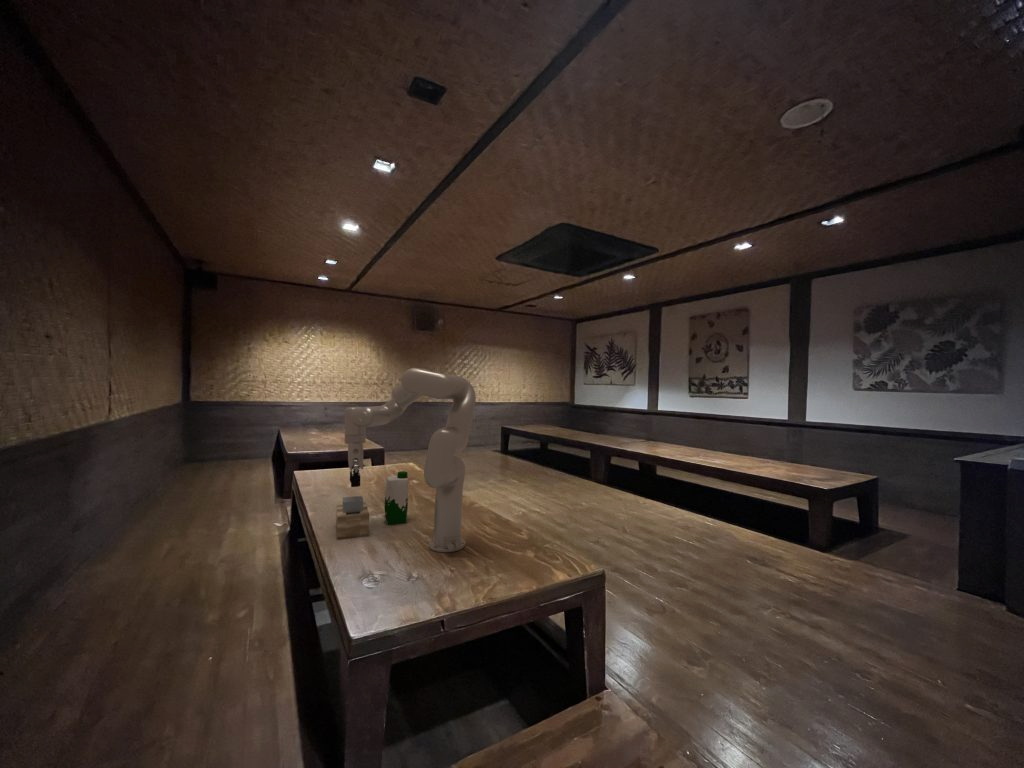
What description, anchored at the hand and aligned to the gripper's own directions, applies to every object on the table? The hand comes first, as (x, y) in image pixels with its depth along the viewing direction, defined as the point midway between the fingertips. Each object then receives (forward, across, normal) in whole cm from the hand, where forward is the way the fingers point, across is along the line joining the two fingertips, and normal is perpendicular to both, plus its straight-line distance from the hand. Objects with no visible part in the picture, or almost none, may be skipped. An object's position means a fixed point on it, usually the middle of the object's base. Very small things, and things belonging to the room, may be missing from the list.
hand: (354, 483), depth 151 cm
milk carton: (+18, +6, -16) cm, 25 cm away
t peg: (+16, +1, +1) cm, 16 cm away
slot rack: (+18, +1, +1) cm, 18 cm away
